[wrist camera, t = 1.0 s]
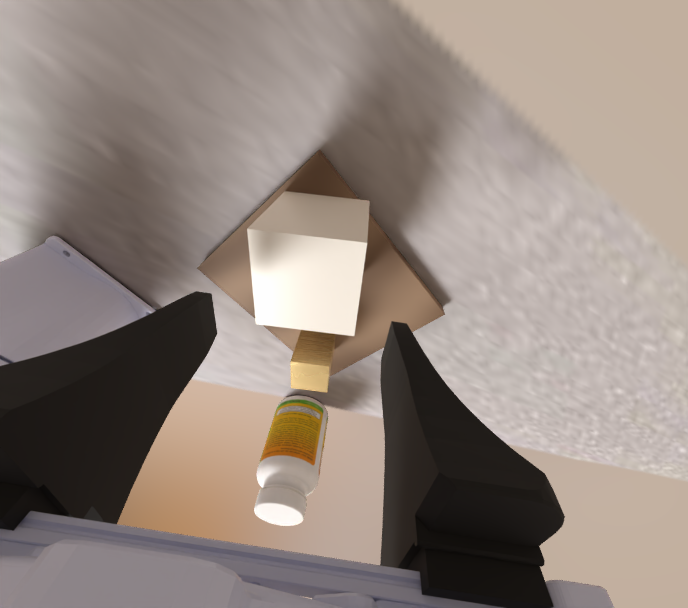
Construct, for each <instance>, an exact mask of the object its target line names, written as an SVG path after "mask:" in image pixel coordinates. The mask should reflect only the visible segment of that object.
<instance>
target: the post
mask: <svg viewBox="0 0 688 608" xmlns="http://www.w3.org/2000/svg"><path fill="white" fill-rule="evenodd" d="M335 337H336V334H332V333H324V332H316V331H308V330H301V331H300V334H299V337H298V341H297V344H296V347H295V350H294V353H293V356H292V359H291V388H295V389H303V390H311V391H319V392H326V393H327V390H328V384H329V378H330V372H331V367H332V361H333V355H334V348H335Z"/></svg>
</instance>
